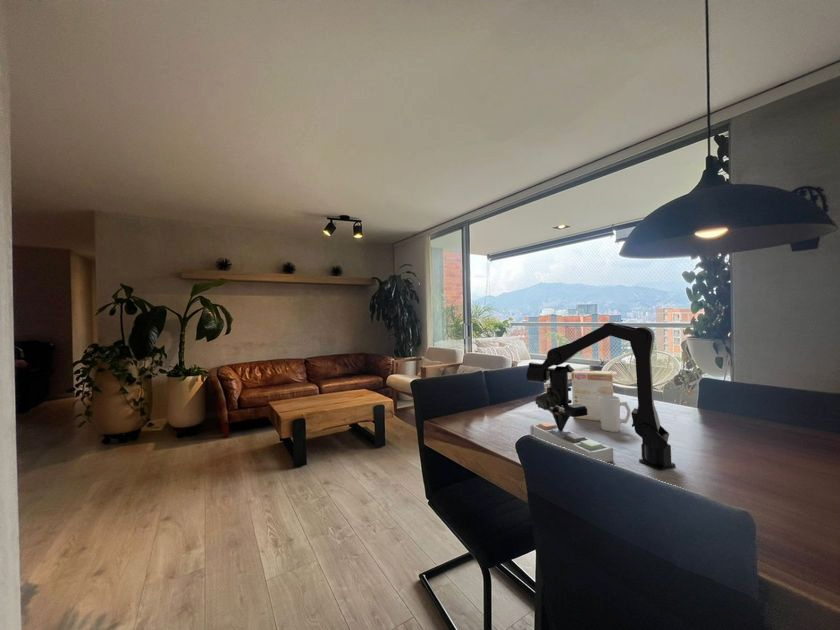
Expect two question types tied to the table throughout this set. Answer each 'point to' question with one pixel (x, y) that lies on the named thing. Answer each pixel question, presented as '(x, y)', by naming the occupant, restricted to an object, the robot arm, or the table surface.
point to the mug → (612, 413)
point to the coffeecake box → (591, 390)
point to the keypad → (600, 454)
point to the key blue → (559, 432)
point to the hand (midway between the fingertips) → (560, 430)
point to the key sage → (590, 445)
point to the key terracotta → (547, 426)
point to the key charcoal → (574, 438)
